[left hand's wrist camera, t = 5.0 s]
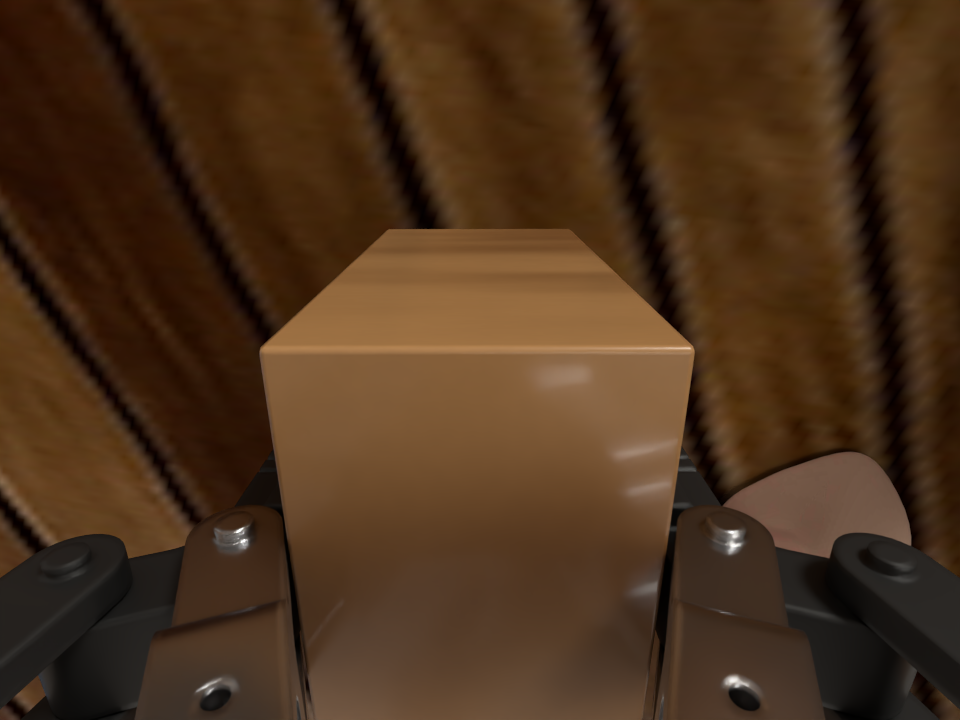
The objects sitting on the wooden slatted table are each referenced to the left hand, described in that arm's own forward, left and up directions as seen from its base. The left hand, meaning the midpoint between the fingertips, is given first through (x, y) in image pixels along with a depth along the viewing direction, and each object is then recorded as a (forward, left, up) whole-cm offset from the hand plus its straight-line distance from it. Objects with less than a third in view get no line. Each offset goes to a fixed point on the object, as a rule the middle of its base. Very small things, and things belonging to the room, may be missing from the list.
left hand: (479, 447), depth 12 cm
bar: (+2, +8, -5) cm, 10 cm away
